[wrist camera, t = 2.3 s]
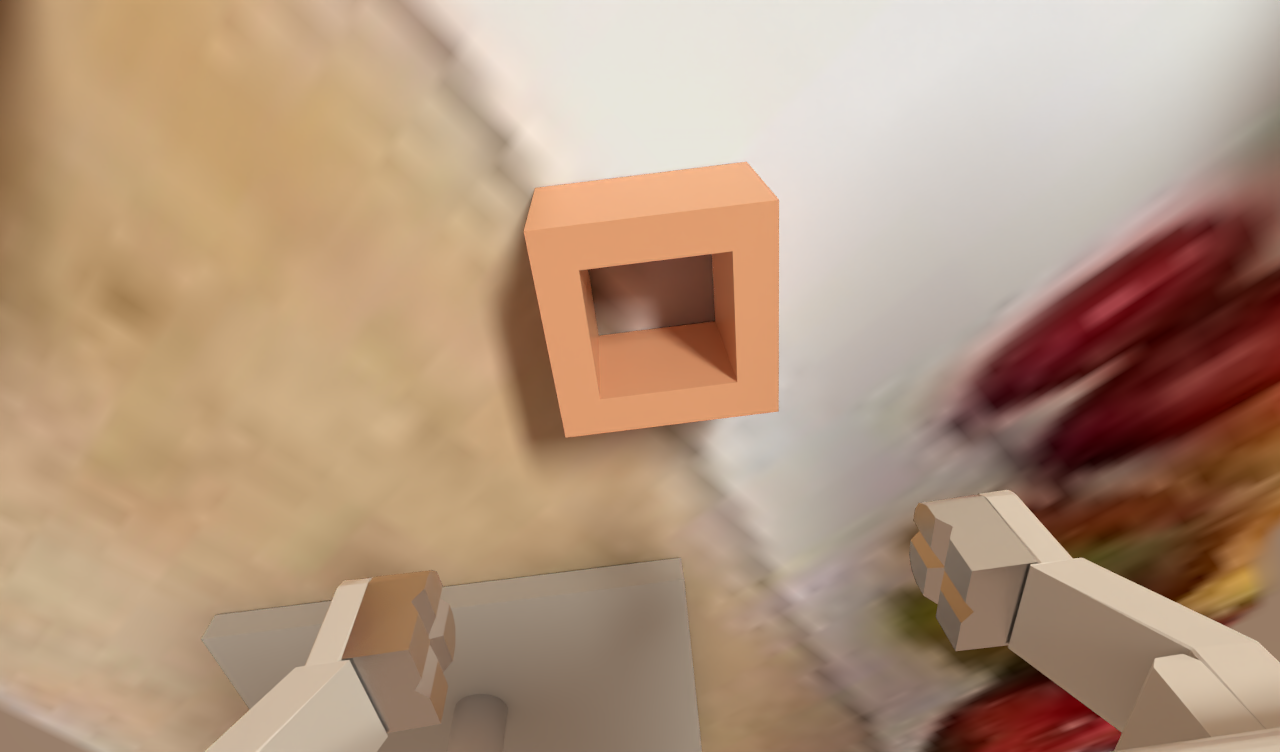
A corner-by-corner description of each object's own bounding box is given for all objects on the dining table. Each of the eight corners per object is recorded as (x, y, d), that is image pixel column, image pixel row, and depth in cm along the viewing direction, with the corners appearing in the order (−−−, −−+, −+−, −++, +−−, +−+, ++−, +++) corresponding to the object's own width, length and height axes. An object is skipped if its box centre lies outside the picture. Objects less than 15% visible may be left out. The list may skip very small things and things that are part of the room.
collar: (746, 161, 20) (779, 199, 17) (750, 347, 23) (778, 411, 20) (535, 187, 20) (523, 231, 17) (569, 370, 23) (565, 437, 20)
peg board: (681, 557, 28) (701, 691, 23) (700, 743, 36) (719, 877, 30) (215, 615, 28) (128, 762, 23) (329, 789, 36) (283, 931, 30)
